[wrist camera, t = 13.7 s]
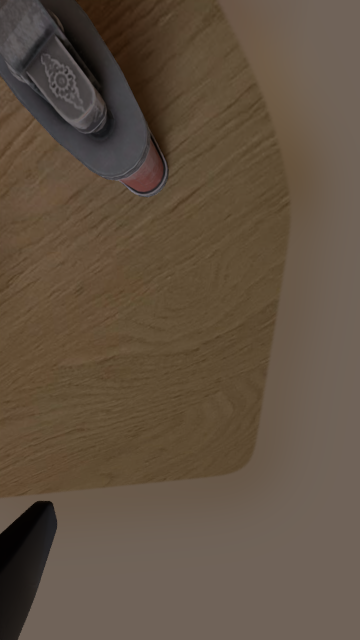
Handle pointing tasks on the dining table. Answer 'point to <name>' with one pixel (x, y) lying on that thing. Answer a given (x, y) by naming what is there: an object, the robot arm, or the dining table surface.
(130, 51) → the dining table surface
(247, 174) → the dining table surface
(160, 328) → the dining table surface
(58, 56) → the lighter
